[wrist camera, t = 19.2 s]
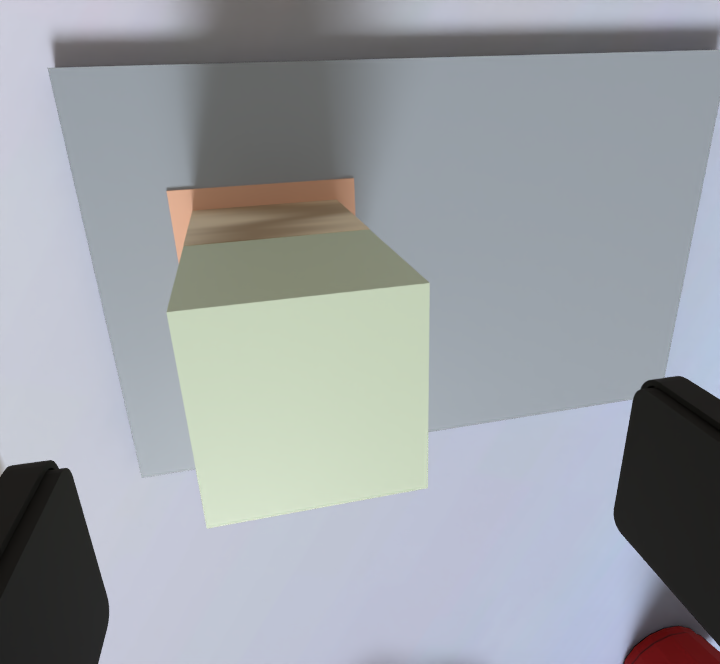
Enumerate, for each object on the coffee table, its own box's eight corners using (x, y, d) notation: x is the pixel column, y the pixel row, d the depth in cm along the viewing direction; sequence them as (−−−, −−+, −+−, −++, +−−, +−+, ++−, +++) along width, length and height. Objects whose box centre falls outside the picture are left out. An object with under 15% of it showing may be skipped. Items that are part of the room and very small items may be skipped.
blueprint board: (713, 51, 22) (731, 49, 21) (649, 387, 28) (662, 395, 27) (54, 69, 18) (46, 67, 17) (144, 466, 23) (141, 479, 23)
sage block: (369, 229, 16) (429, 282, 11) (374, 388, 18) (427, 487, 13) (183, 246, 15) (166, 312, 10) (210, 411, 17) (206, 528, 12)
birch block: (336, 199, 20) (369, 228, 16) (343, 328, 22) (374, 387, 18) (192, 210, 19) (183, 245, 15) (213, 344, 21) (210, 410, 17)
